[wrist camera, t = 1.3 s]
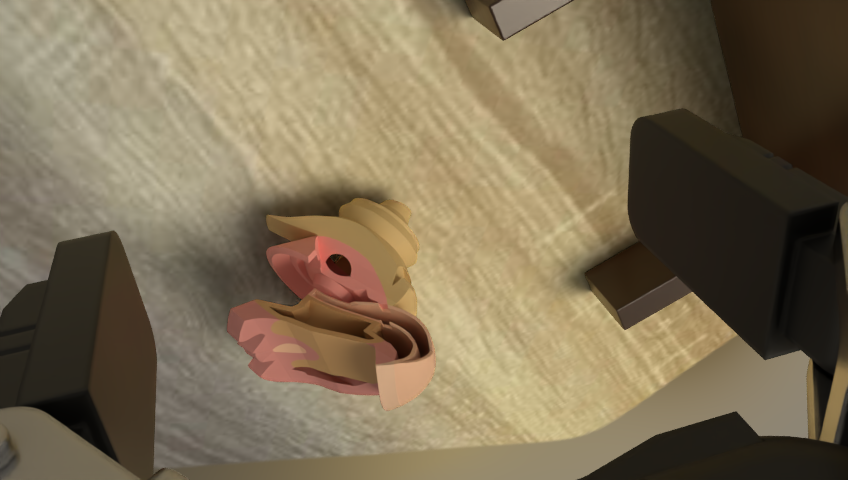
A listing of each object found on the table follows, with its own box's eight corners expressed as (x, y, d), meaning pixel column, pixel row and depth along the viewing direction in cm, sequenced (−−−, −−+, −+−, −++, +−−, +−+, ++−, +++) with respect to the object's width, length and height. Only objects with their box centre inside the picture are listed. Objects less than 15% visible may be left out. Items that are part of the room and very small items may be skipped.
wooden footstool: (783, 194, 41) (979, 323, 31) (596, 302, 41) (732, 465, 31) (704, -179, 30) (966, -162, 20) (450, -32, 30) (588, 57, 20)
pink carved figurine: (309, 120, 32) (508, 221, 30) (343, 236, 41) (499, 324, 38) (161, 289, 29) (371, 423, 26) (233, 378, 38) (396, 486, 35)
